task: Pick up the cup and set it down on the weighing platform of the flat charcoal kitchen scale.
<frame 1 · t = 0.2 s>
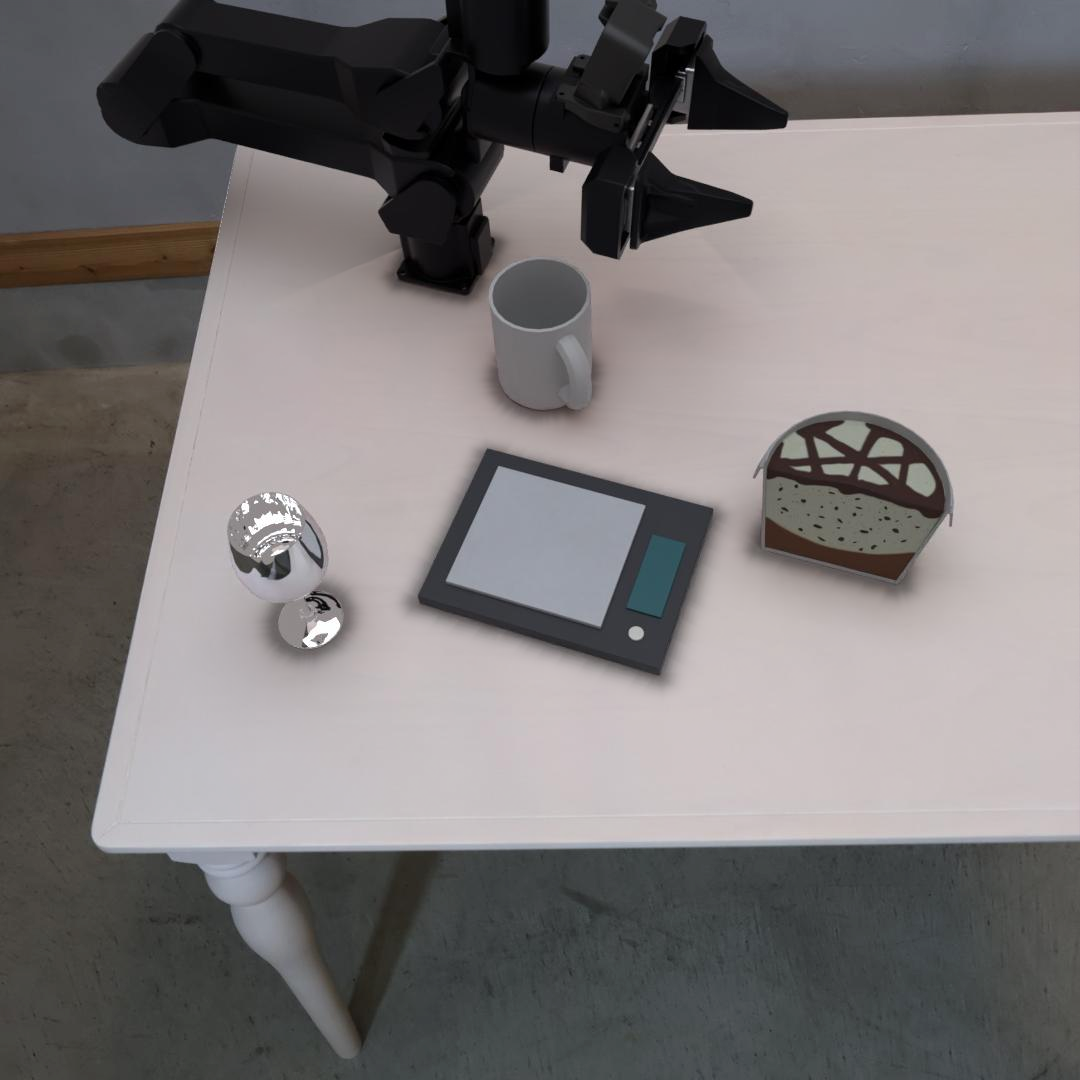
hand: (770, 163, 74), 16 cm above the table, tool horizontal, fingers open, 9 cm apart
scale: (568, 558, 78), on the table
cup: (554, 389, 86), on the table
wineglass: (311, 621, 77), on the table
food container: (837, 531, 78), on the table
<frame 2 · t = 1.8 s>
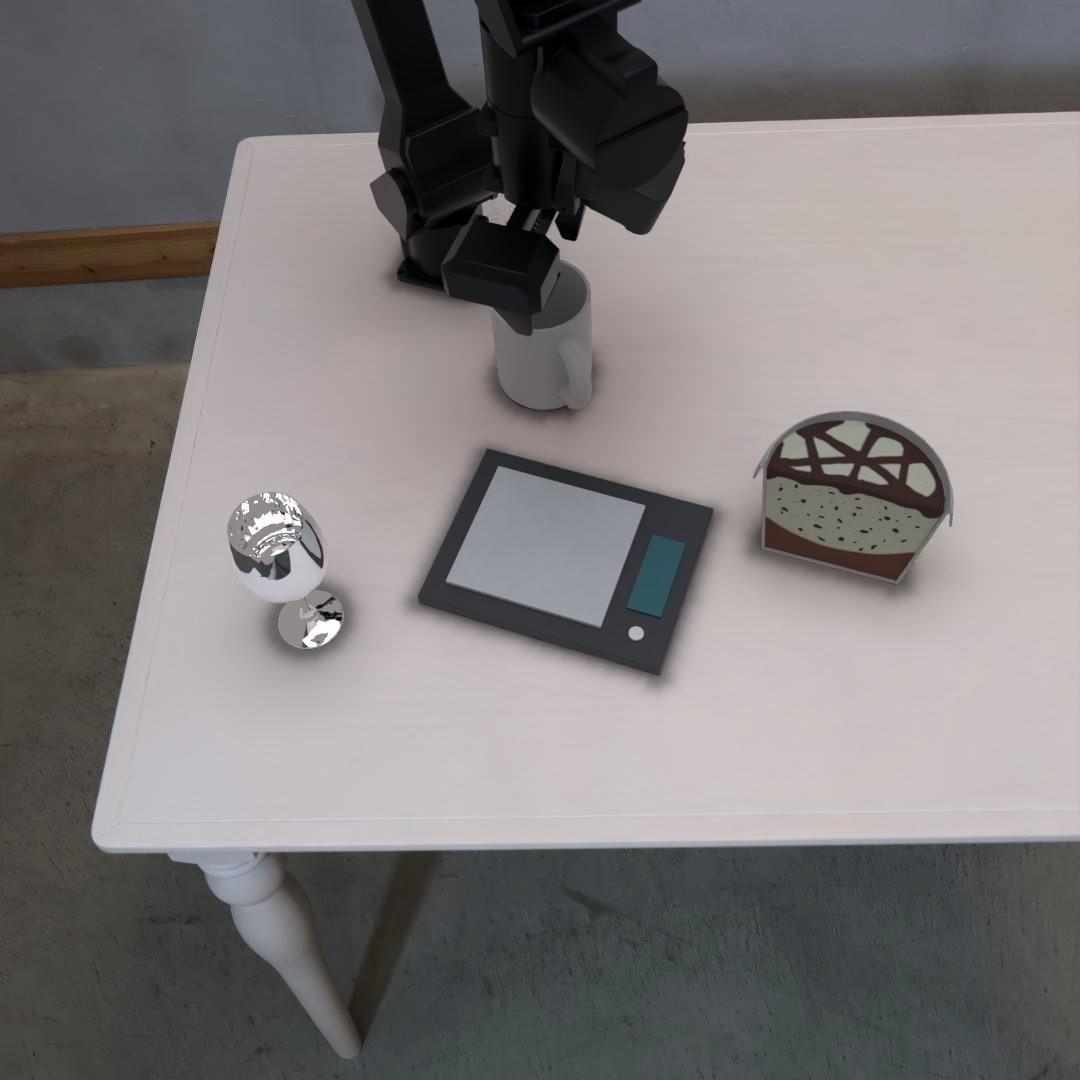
hand: (547, 284, 77), 11 cm above the table, tool pointing down, fingers open, 9 cm apart
nothing on the table moved.
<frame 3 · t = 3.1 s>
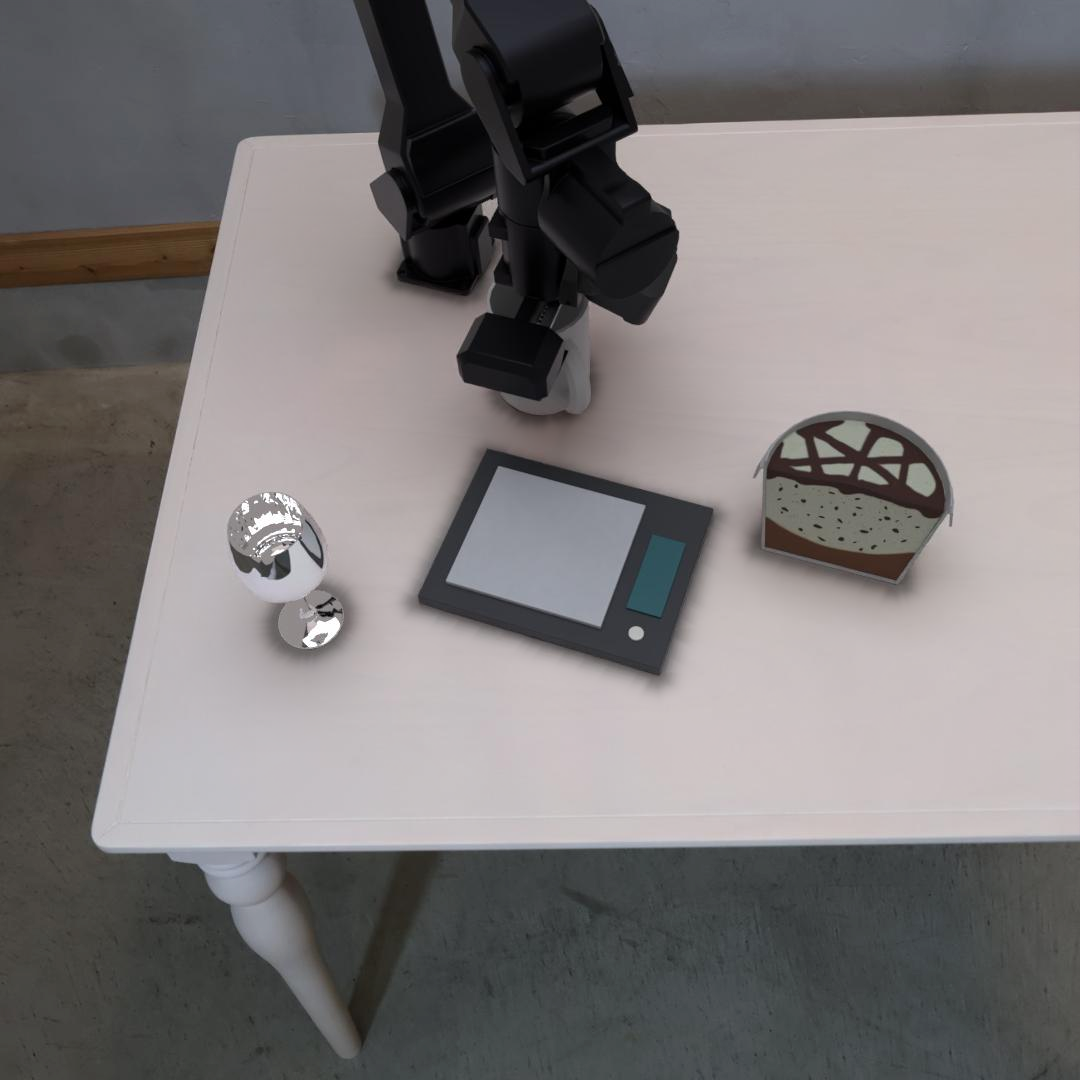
hand: (552, 359, 84), 3 cm above the table, tool pointing down, fingers closed on cup, 7 cm apart
cup: (552, 394, 86), on the table, touching gripper
everything else where it was.
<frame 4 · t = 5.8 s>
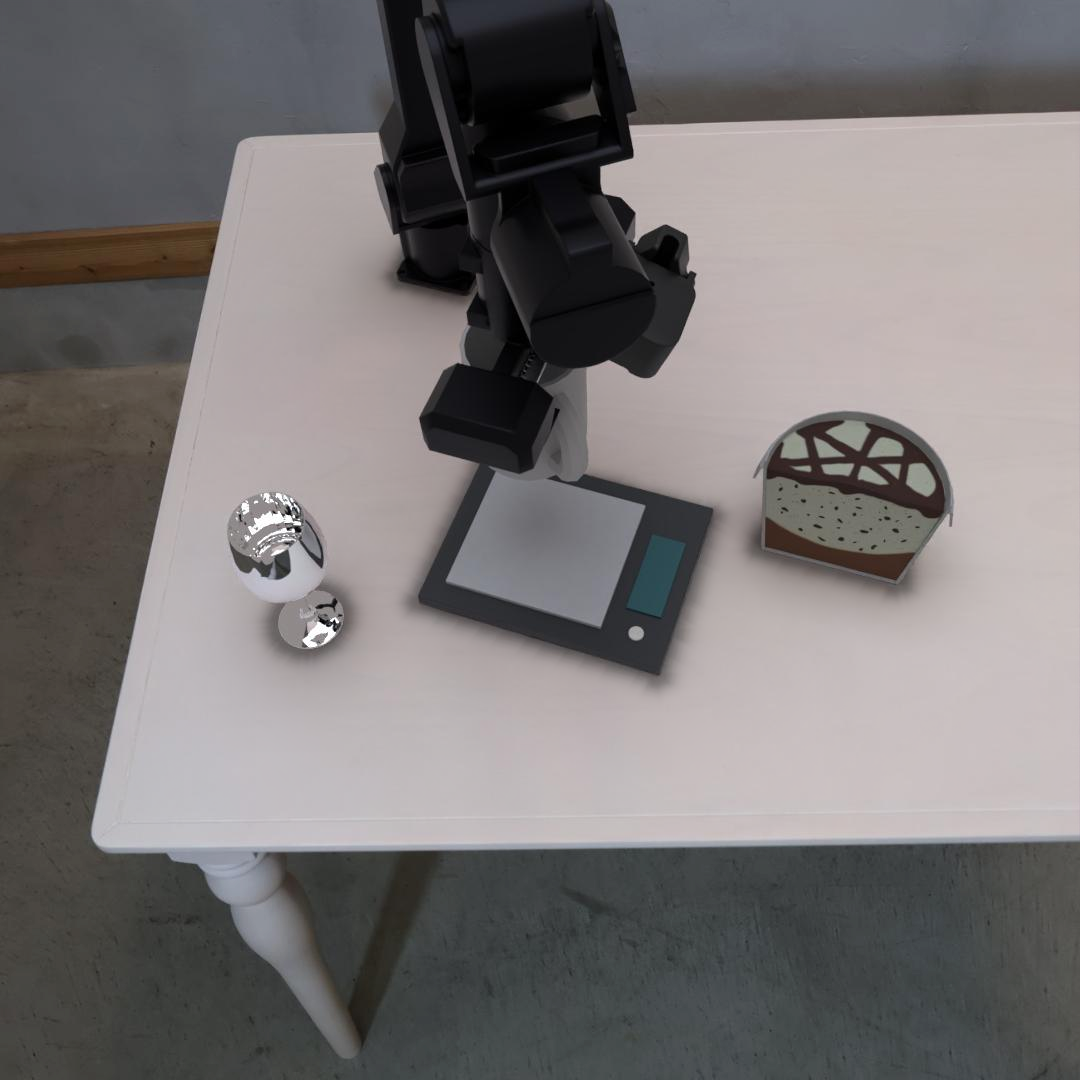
hand: (541, 414, 69), 12 cm above the table, tool pointing down, fingers closed on cup, 7 cm apart
cup: (542, 455, 71), point 9 cm above the table, touching gripper
everything else where it was.
when the fingers open (4 cm above the table, at t = 8.4 s): cup stays where it is, resting on scale.
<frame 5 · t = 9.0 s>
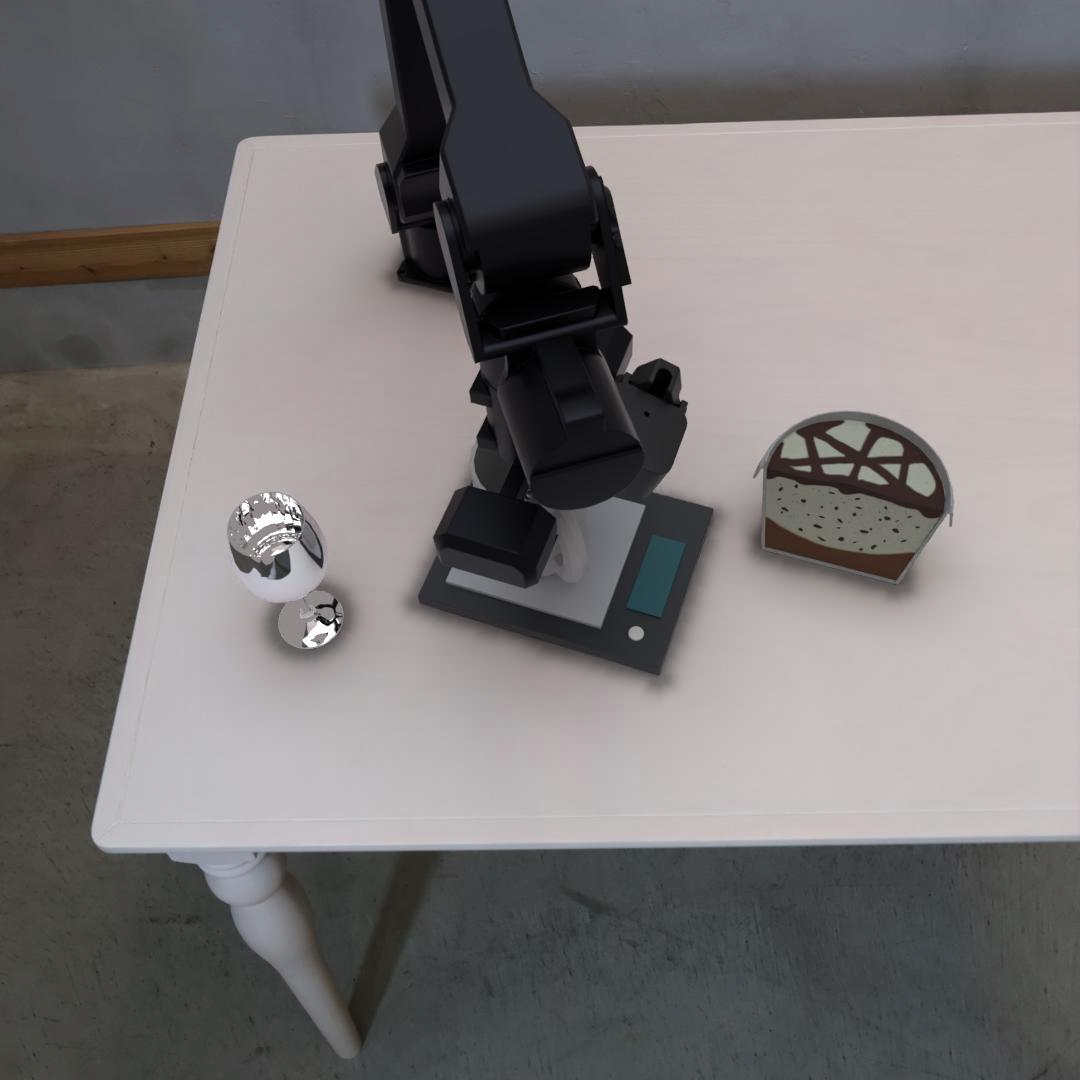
hand: (545, 515, 74), 5 cm above the table, tool pointing down, fingers open, 9 cm apart
cup: (545, 551, 77), point 1 cm above the table, touching scale
everything else where it was.
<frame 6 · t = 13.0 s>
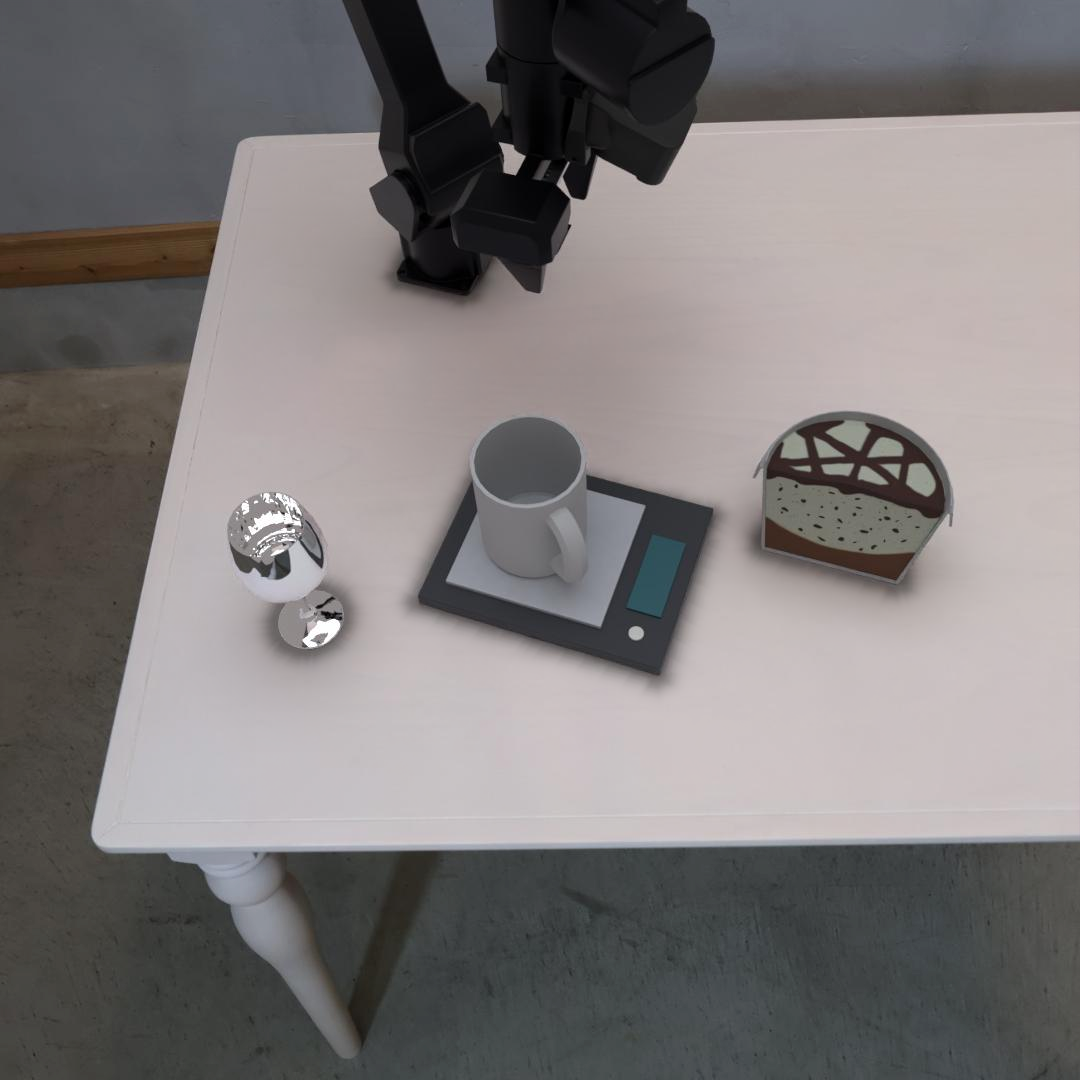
hand: (556, 242, 76), 13 cm above the table, tool pointing down, fingers open, 9 cm apart
nothing on the table moved.
at the end: cup inside the target area on the scale (0.7 cm from its centre), point 1.2 cm above the scale's base; cup tilted 0°; the gripper is holding nothing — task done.
